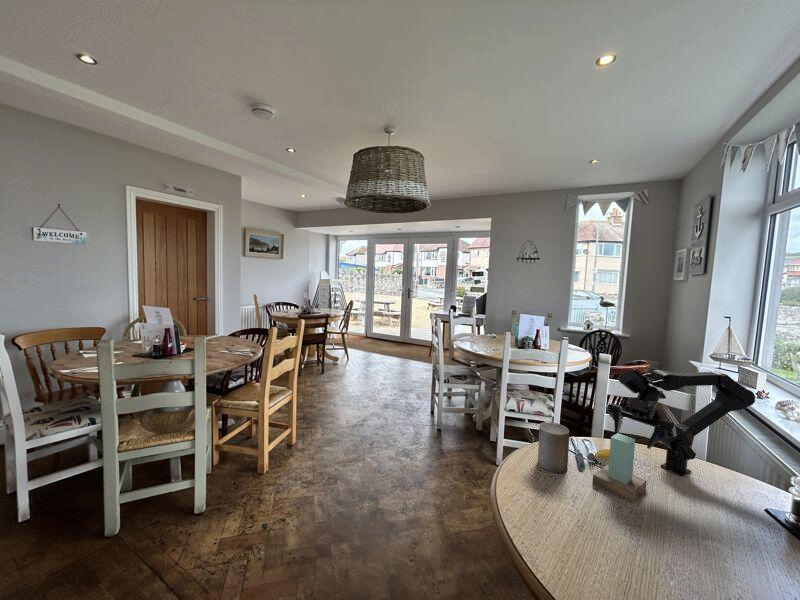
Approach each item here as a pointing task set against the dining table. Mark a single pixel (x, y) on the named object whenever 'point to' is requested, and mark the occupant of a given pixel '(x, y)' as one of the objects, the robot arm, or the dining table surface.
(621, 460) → the pillar
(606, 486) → the walnut base
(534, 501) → the dining table surface
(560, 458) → the pillar candle
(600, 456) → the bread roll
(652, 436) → the robot arm
